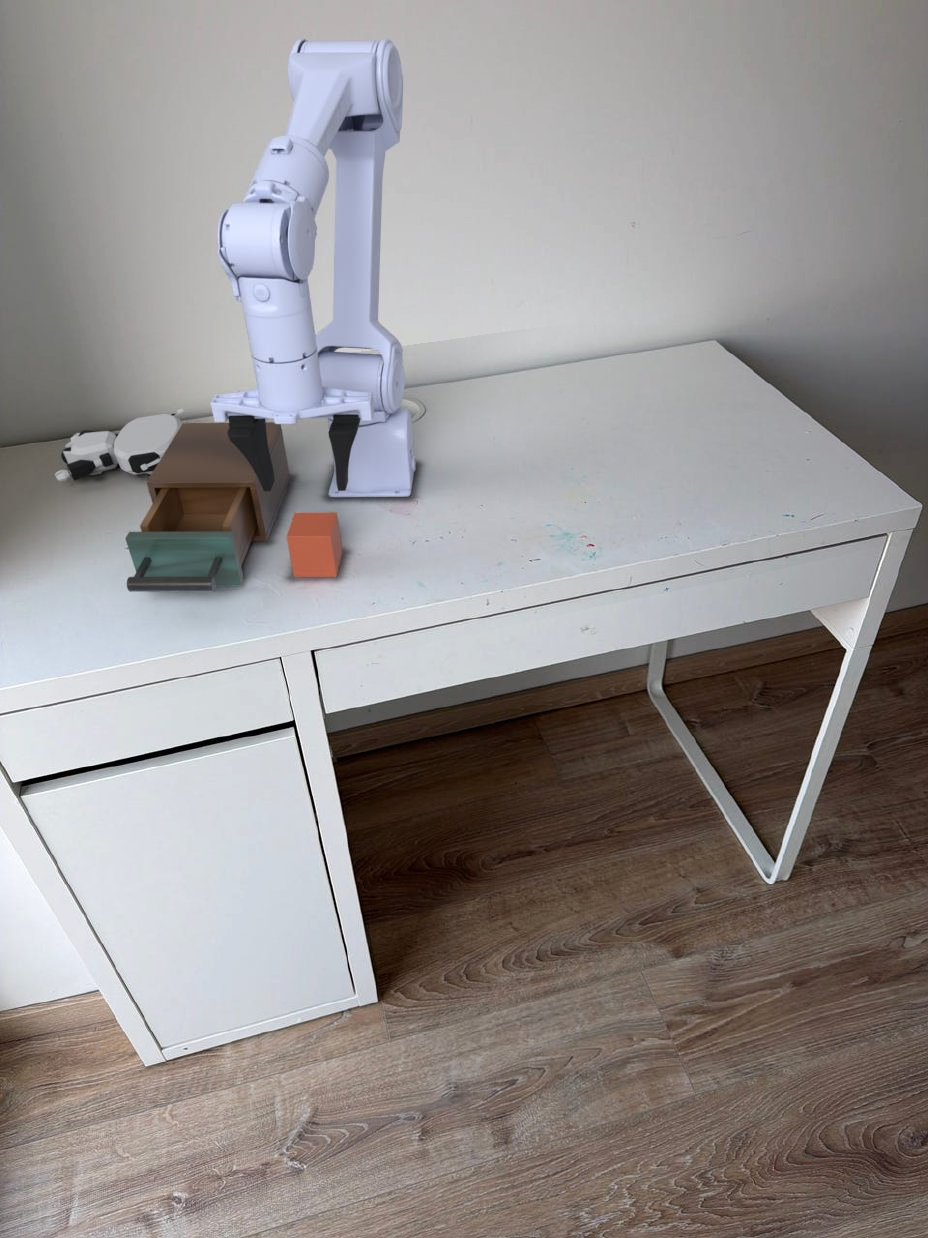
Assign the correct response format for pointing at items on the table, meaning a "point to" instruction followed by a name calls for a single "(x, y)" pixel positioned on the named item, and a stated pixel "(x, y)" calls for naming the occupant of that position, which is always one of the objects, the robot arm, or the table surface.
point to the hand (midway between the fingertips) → (306, 485)
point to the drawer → (192, 540)
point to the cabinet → (222, 468)
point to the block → (315, 544)
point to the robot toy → (120, 447)
